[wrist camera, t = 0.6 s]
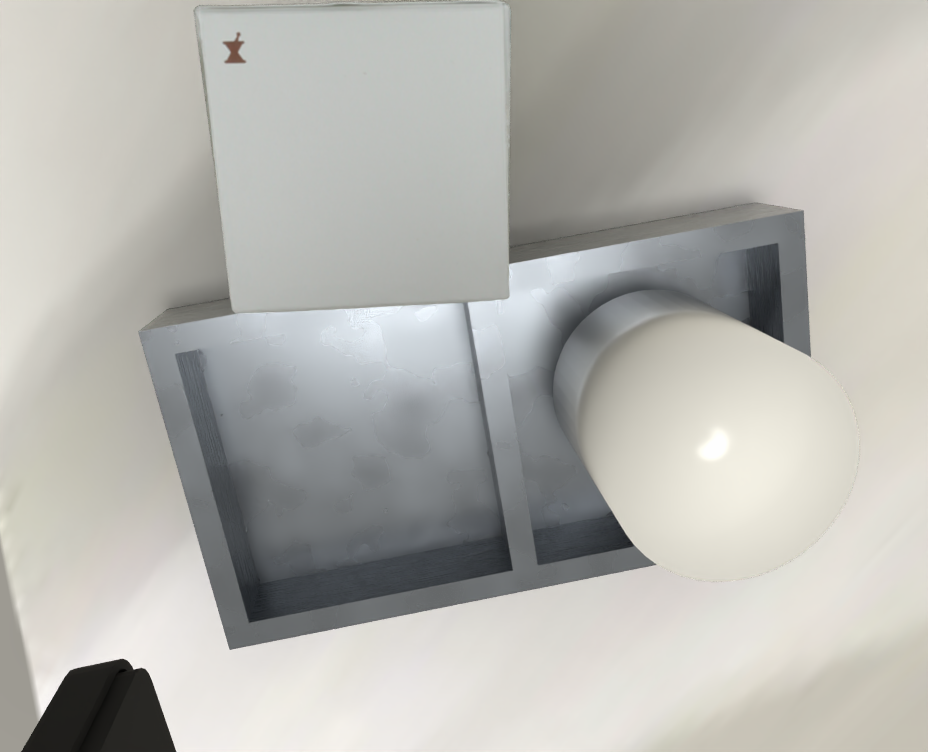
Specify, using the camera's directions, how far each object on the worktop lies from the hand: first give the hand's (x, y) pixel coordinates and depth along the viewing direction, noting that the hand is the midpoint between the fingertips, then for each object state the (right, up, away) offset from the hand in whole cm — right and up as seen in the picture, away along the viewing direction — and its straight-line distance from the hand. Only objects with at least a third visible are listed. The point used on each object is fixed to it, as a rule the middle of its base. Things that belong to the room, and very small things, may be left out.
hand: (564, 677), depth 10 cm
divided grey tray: (0, +2, +25) cm, 26 cm away
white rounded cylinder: (+6, +3, +25) cm, 26 cm away
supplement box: (-5, +12, +23) cm, 26 cm away
